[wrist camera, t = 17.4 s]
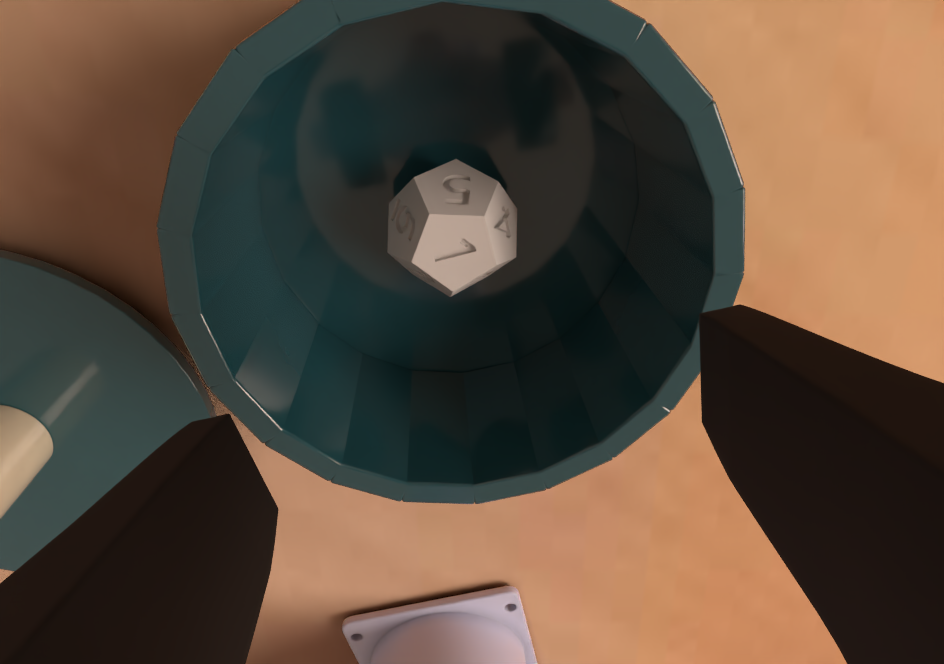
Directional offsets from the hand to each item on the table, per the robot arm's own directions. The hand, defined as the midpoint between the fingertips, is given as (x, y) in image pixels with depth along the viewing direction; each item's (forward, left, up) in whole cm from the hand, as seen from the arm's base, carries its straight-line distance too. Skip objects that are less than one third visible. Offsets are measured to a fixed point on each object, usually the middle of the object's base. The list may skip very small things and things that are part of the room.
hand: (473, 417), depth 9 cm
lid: (-4, +16, -10) cm, 19 cm away
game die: (0, 0, -10) cm, 10 cm away
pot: (0, 0, -10) cm, 10 cm away
